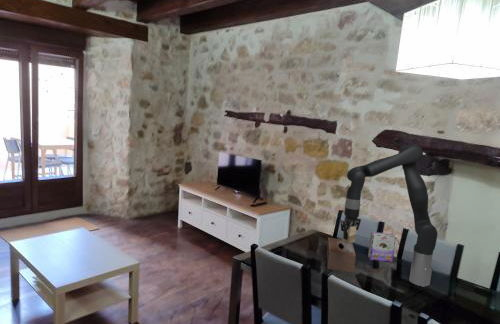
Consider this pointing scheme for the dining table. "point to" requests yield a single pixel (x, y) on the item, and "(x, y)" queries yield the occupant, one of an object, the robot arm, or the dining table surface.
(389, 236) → the candy box
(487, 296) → the dining table surface
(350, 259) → the tissue box cover
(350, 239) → the oak block
